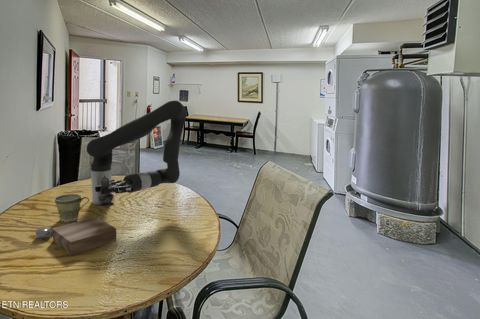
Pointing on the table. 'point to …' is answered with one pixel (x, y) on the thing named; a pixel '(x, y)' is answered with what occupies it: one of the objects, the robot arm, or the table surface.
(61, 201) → the ceramic cup
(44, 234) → the grey metal puck
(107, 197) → the salt shaker
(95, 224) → the walnut stand
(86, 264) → the table surface
